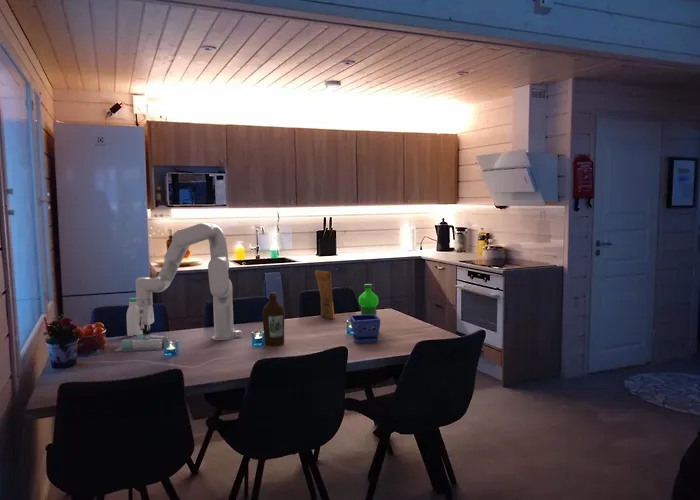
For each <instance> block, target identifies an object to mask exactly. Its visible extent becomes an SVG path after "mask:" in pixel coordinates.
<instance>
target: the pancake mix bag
mask: <svg viewBox="0 0 700 500" xmlns="http://www.w3.org/2000/svg"><path fill="white" fill-rule="evenodd" d="M314 275H315V278H316V281H317V286H318V289H319V295H320V296H319V297H320V316H321V317H323V318H325V319H328V320H329V319H331V320H332V319H334V318H335V310H334V308H335V307H334V300H333V286H332V272H330V271H327V270H318V269H316V270H315V271H314Z"/></svg>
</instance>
